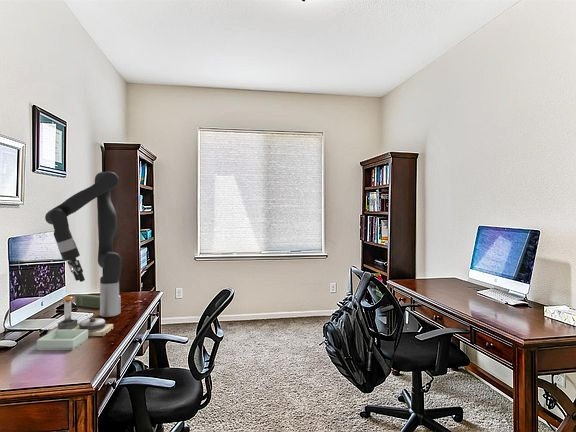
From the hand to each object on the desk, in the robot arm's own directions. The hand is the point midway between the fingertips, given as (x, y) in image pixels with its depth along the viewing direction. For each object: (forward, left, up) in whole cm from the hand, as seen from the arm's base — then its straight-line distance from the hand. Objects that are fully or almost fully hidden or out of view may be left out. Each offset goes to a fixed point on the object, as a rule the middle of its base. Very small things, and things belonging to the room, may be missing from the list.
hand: (80, 280), depth 197 cm
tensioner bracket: (+7, +12, -21) cm, 25 cm away
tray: (+20, +21, -21) cm, 36 cm away
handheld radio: (-23, -26, -22) cm, 41 cm away
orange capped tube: (+10, +7, -19) cm, 23 cm away
